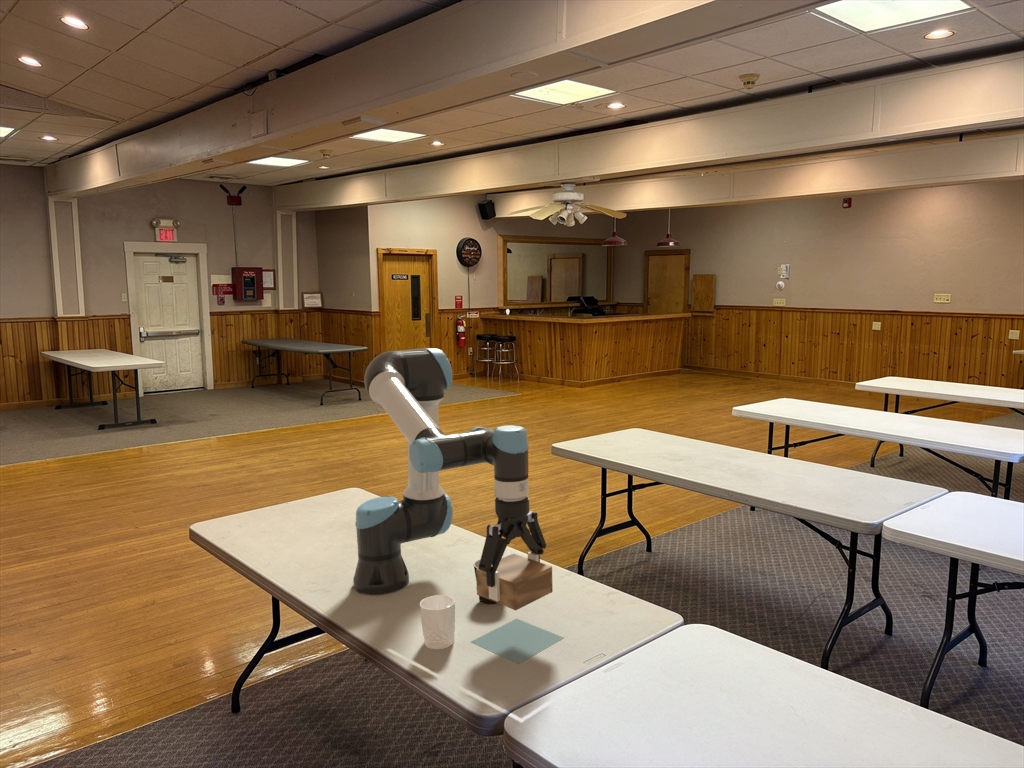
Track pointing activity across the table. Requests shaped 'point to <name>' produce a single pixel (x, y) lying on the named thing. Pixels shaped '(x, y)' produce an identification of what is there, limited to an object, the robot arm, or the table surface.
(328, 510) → the table surface
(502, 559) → the brown wooden block
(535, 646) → the mat
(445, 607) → the white cup
